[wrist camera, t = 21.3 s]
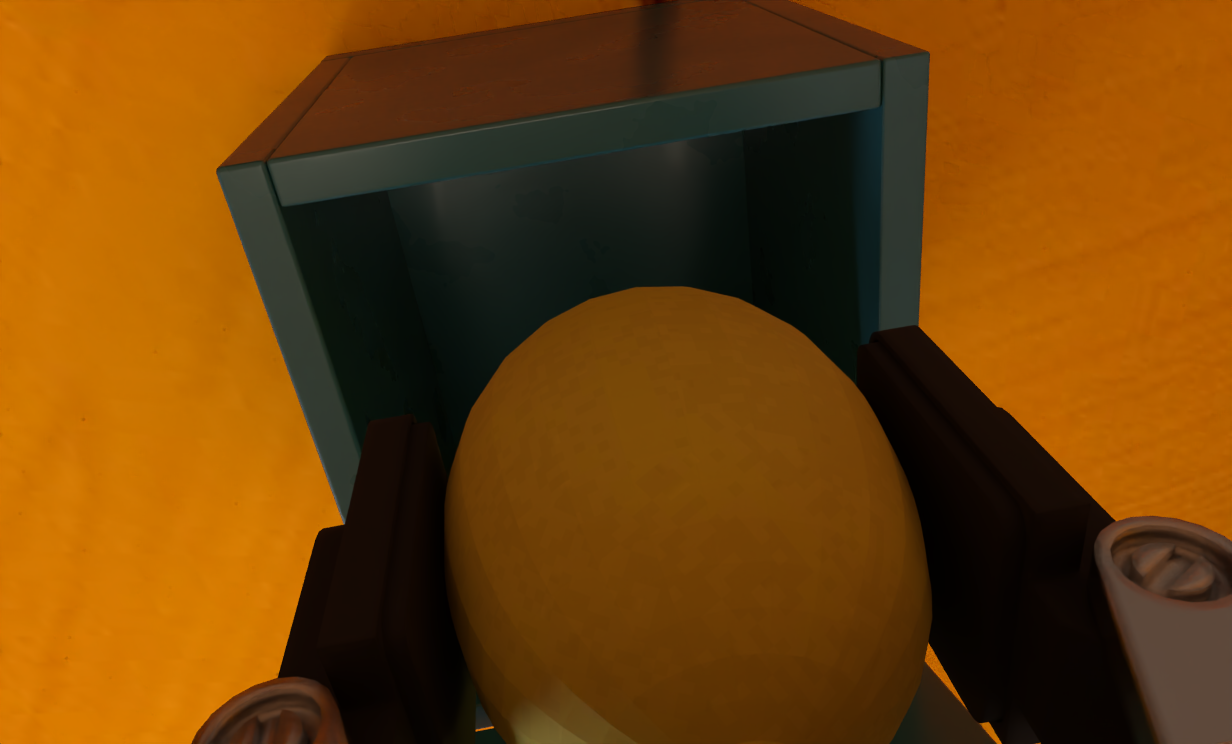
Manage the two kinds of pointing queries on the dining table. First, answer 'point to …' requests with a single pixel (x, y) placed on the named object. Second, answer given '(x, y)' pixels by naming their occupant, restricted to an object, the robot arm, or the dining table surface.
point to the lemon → (683, 535)
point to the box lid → (929, 733)
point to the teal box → (575, 197)
